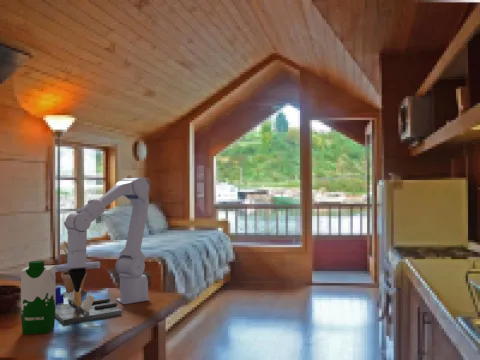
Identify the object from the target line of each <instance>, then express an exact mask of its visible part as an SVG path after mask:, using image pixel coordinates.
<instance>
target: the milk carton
mask: <svg viewBox="0 0 480 360" xmlns="http://www.w3.org/2000/svg"><path fill="white" fill-rule="evenodd" d="M55 265H56V264H55ZM55 265H45V261H44V260H31V261H29V262H28V266H27V267H24V268H23V269H21V270H20V317H21V318H20V320H21V331H22V335H35V334H49V333H50V332H51V330H52V329H53V328H54V327H55V322H56V320H55V319H56V317H55V309H56V293H55V287H56V272H55Z"/></svg>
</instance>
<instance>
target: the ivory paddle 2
mask: <svg viewBox="0 0 480 360" xmlns="http://www.w3.org/2000/svg"><path fill="white" fill-rule="evenodd" d="M95 298H96V297H95V296H94V295H92V294H89V293H88V294H87V296H86V297H85V300H84V301H85V302H84V304H83V307H82V308H83V309H85V310H87V311H89V310H90V308H91V306H92V303H93V301H94V300H96V299H95Z"/></svg>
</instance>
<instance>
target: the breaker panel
mask: <svg viewBox="0 0 480 360" xmlns="http://www.w3.org/2000/svg"><path fill="white" fill-rule="evenodd" d="M98 300H105V298H96V299H94V301H98ZM81 301H82V300H81ZM84 302H85V300H83V301H82V306H77V305H76V304H75V301H72V300H71V299H70V298H68V303H64V304H63V303H62V304H58V305H56V309H55V319H56V320H58V321H59V322H60V323H61V324H62V325H63V326H66V325H72V324H76V323H83V322H88V321H89V320H90V321H95V320H101V319H105V318H111V317H118V316H122V315H123V310H122V309H121V308H119V307H118V306H114V307H108V308H102V309H94V307H95V306H100V305H107V304H112V303H111V302H105V303H98V304H92V306H91V308H90V310H89V311H87V310H85V309H83V308H82V307H83V304H84ZM94 319H95V320H94Z"/></svg>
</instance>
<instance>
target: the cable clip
mask: <svg viewBox="0 0 480 360" xmlns="http://www.w3.org/2000/svg"><path fill="white" fill-rule="evenodd" d="M61 287H62V286H55V293H56V305H62V304H63V303H64V302H65V301H64V297H65V295H64V294H62V292H61V290H62V289H61ZM64 304H65V303H64Z"/></svg>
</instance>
